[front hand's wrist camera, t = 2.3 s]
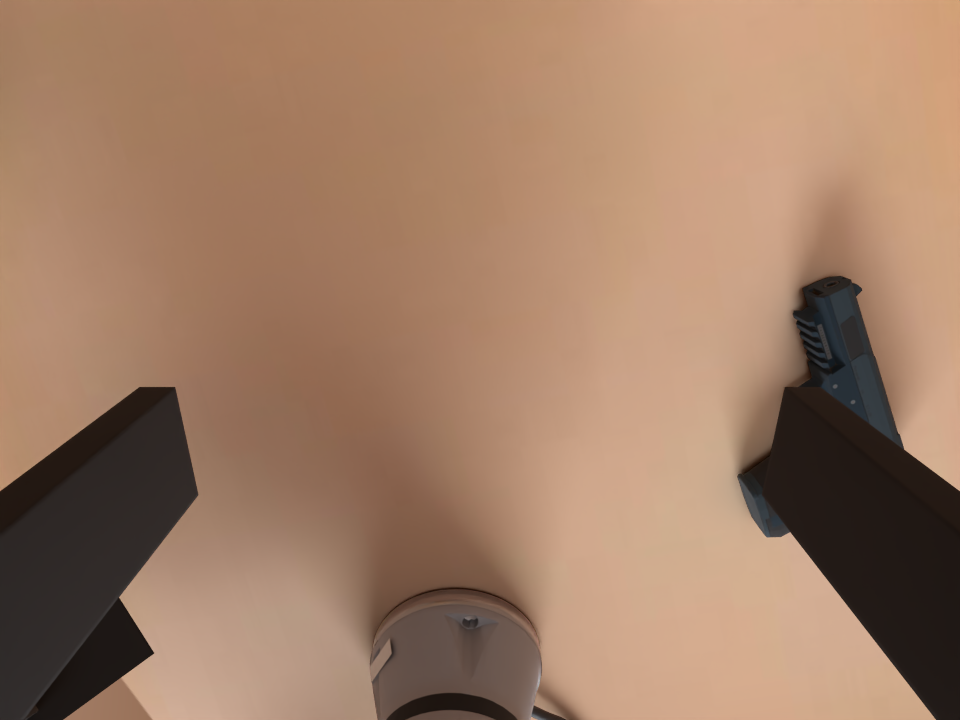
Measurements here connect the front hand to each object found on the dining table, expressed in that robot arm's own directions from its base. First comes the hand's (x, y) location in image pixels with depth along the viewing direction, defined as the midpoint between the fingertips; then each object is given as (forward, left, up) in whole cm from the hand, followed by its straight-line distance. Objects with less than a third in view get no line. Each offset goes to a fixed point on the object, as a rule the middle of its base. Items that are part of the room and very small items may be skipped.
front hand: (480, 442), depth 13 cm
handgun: (+13, +24, -28) cm, 39 cm away
